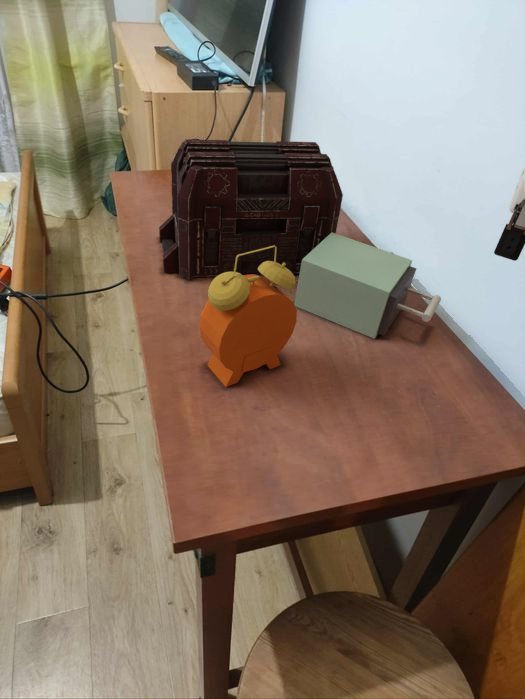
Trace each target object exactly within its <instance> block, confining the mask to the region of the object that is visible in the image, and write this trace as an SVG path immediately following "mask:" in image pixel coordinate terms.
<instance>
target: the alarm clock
mask: <svg viewBox="0 0 525 699" xmlns="http://www.w3.org/2000/svg"><path fill="white" fill-rule="evenodd" d="M272 247H275V257H274V262H273V261H266V262H263V263H262V264H261V265H260V266H259V267H258V271H259V272H260V274H261V275H258V274H255V273H250V274H244V275H243V273H241V274H240V273H238V272H236V265H237V259H238V257H239V256H241V255H245V254H249V253H253V252H257V251H261V250H265V249H268V248H272ZM276 251H277V247H276V246H270V247H266V248H262V249H258V250H254V251H250V252H247V253H243V254H239V255H237V256H236V261H235V268H234V272H225V273H222V274H220V275H218V276H215V277H214V278H213V279H212V280H211V283H210V284H209V287H208V290H207V296H208V300H207V301H206V302H205V305H204V307H203V309H202V311H201V313H200V319H199V323H198V325H199V326H198V327H199V334H200V335H199V336H200V339H201V340H202V342H203V343H204V344H205V346H206V347H207V349H208V350H209V351H210V352H211V353H212V354H211V356H210V359H209V360H208V363H207V367H208V368H209V369H210V370H211V372H212V373H213V374H214V375H215V377H217V379H218V380H219V381H220V382H221V383H222V385H223V386H224V387H225V388H228V387H229V386H232V385H234V384H238V383H239V381H240V379H241V377H242V376H243V374H244V373H246V372H249V371H254V370H257V369H258V368H260V367H262V366H264V365H265V366H266V367H267V368H268V369H269V370H272V369H274V368H275V369H276V368H277V367H279V366H281V362H280V359H279V356H278V354H280V352H281V351H282V350H283V349H284V348H285V346H286V345H287V344H288V342H289V341H290V339H291V337H292V335H293V333H294V331H295V327H296V325H297V317H298V311H297V307H296V306H295V305H294V303H295V301H293V300H292V299H290V298H289V297H288V296H287V295H286V294H285V293H283V292H282V291H281V290H280V289H279V288H278V287H277V286H279V287H281V288H283V289H286V290H289V291H294V290H295V288H296V283H297V282H296V276H295V275H294V273H292V272H291V271H290V270H288V269H287V268H286V267H285V266H286V263H284V262H283V264H282V265H281V264H279V263H276ZM275 285H277V286H275Z"/></svg>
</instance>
